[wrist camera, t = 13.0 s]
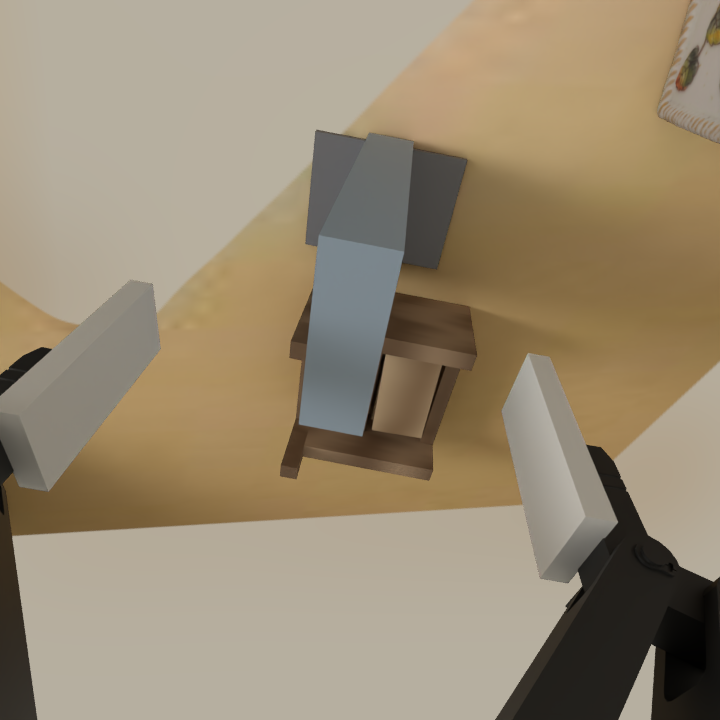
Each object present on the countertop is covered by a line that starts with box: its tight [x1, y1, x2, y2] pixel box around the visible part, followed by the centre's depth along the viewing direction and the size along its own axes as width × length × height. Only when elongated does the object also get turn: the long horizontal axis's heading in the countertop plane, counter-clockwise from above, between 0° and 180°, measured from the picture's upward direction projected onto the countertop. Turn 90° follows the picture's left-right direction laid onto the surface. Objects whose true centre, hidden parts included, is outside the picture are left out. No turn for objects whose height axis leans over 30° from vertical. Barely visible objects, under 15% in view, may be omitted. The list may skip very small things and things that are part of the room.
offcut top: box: [372, 354, 442, 438], centre depth 34 cm, size 4×8×2 cm, turn 173°
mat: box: [305, 130, 467, 269], centre depth 29 cm, size 9×7×1 cm
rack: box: [280, 289, 477, 481], centre depth 33 cm, size 11×12×8 cm
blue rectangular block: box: [299, 133, 414, 436], centre depth 23 cm, size 3×8×16 cm, turn 171°
